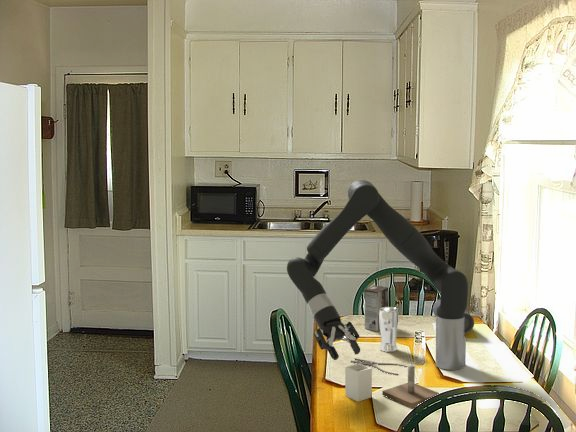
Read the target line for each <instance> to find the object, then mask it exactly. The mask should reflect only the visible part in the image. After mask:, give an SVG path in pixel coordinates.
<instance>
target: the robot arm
mask: <svg viewBox="0 0 576 432" xmlns="http://www.w3.org/2000/svg"><path fill="white" fill-rule="evenodd" d="M347 198H348V201H347V203H345V206H344V207H343V209H342V210H341V211H340V212H339V213H338V214H337V215H336V216H335V217H334V218H333V219H332V220H330V221H329V222H328V223H327V224H326V225H324V226H323V227H322V228H321V229H320V230H319V231H318V233H317V234H316V235H315V236H314V237H313V238H312V240H311V241H310V242H309V243H308V245H307V246H306V251H307V254H306V256H305V257H304V258H302V257H299V256H297V257H296V256H295V257H292V258H290V259H289V260H288V262H287V265H286V271H287V274H288V277H289V279H290V280H291V281H292V283H293V285H294V286H295V287H296V288H297V289H298V290H299V292H300V293H301V295H302V297H303V299H304V301H305V303H306V304H307V306H308V309H309V312H310V314H311V316H312V318H313V319H314V321H315V323H316V325H317V327H318V328H317V329H316V330H315V332H314V333H313V336H314V337H315V340H316V342H317V344H318V347H319V348H320V350H322V351H323V350H327V352H328V354H329V356H330V357H331V358H332V359H331V360H333V361H338V359H339V357H340V355H339V353H338V351H337V350H336V348H335V346H334V342H336V341H340V340H342V341H344V342H347V343H348V344H349V346H350V347H351V349H352V351H353V353H354V355H358V354H360V353H361V347H360V346H359V344H358V341H357V340H358V339H359V338H360V334H359V332H358V331H357V330H356V328H355V326H354V325H353V323H352V322H351V321H347V323H343V322H342V319H341V318H342V317H341V315H340V314H339V312H338V310H337V308H336V306H335V305H334V303H333V302H332V300H331V298H330V296H329V295H328V294H327V292H326V290H325V288H324V286H323V284H322V283H321V282H320V281H319V280H318V279H317V278H315V276H316V275H317V273H318V271H319V270H320V268H321V266H322V264H323V262H324V261H325V259H326V257H327V256H328V255H329V254H330V253H331V252H332V251H333V249H334V248H335V247H336V246H337V245H338V244H339V242H340V241H341V240H342V239H343V238H344V236H346V234H347V233H348V232H349V231H350V230H351V229H352V228H353V227H354V226H355V225H356V224H358V223H359V222H360V221H361V220H363V218H364V217H365V216H368V217H369V218H370V220H371V221H373V222H374V223H375V225H376V226H377V227H378V229H379V230H380V231H381V233H382V234H383V235H384V237H385V238H386V239H387V240H388V242H389V243H390V244H391V245H392V246H393V247H394V248H395V249H396V250H397V251H398V252H399V253H400V254H401V255H402V256H403V257H405V258H406V259H407V260H408V261H410V263H412V264H413V265H414V266H416V267H417V268H418V269H419V270H421V272H422V273H423V274H424V275H425V276H426V278H427V279H428V280H429V281H430V283H431V284H432V285H433V287H435V289H436V290H437V291H438V292H440V299H441V300H440V305H439V306H438V307H437V308H436V316H435V324H436V325H435V326H436V327H435V366H436V367H437V368H439V369H442V370H447V371H448V370H449V371H450V370H451V371H453V370H454V371H455V370H460V369H463V368H464V366H465V365H466V353H467V349H466V348H467V347H466V346H467V338H466V337H465V334H464V315H465V311H467V307H468V306H467V305H468V297H469V296H468V294H469V284H468V283H469V282H468V278H467V276H466V275H465V274H464V273H463V272H462V271H461V270H458V269H457V268H453V267H452V266H451V265H449V264H448V263H447V262H446V261H444V260H443V259H442V258H441V257H440V256H438V254H436V252H435V251H434V250H433V248H432V246H431V245H430V243H429V241H428V240H427V238H426V237H425V236H424V235H423V234H422V233H421V232H420V231H419V230H418V229H417V228H416V227H415V226H414V225H413V223H411V221H409V220H408V219H407V218H406V217H404V215H402V214H401V213H400V212H398V211H397V210H396V209H394V208H393V207H392V206H391V205H390V204H389V203H388V202H387V201H386V200H385V199H384V198H383V196H382V195H381V194H380V192H379V191H378V189H377V187H376V186H375V185H374V184H373V183H372V182H370V181H368V180H365V179H359V180H355V181H353V182H352V183H351V184H350V185H349V187H348V191H347Z"/></svg>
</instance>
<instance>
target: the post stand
mask: <svg viewBox="0 0 576 432" xmlns="http://www.w3.org/2000/svg"><path fill="white" fill-rule="evenodd" d="M407 366H408V368H407V382H406V383H403V384H399V385H397V386H394V387H391V388H390V387H389V388H387V389H385V390H382V394H381V395H385V396H387V397H388V398H387V399H389V398H391V399H393V400H395V401H394V402H396V401H397V402H396V403H398V402H399V403H398V404H400V403H401V404H400V405H403V406H405V405H406V406H405V407H407V406H408V408H410V407H411V408H410V409H414V408H416V407H415V406H417V405H418V404H420V403H422V402H424V401H425V400H427V399H429V398H431V397H433V396H435V395H437V394H439V393H440V392H438V391H435V390H432V389H430V388H427V387H424V386H422V385H419V384H417V383H415V376H416V375H415V368H416V367H415V365H412V364H411V365H407ZM391 399H390V400H391ZM393 400H392V401H393ZM413 407H414V408H413ZM417 407H418V406H417Z"/></svg>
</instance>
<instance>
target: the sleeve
mask: <svg viewBox="0 0 576 432" xmlns="http://www.w3.org/2000/svg"><path fill="white" fill-rule="evenodd" d="M344 369H345V370H344V371H345V372H344V374H345V375H344V376H345V377H344V384H345V386H344V387H345V388H344V389H345V391H344V392H345V395H344V396H345V397H347V398H349V399H351V400H353V401H356V402H361V401H364V400H367V399H370V398H372V397H373V390H372V389H373V367H370V366H366V365H362V364H360V363H358V364H355V363H354V364H352V365H349V366H345V367H344Z"/></svg>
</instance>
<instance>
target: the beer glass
mask: <svg viewBox="0 0 576 432" xmlns="http://www.w3.org/2000/svg"><path fill="white" fill-rule="evenodd" d="M379 328H380V330H379V332H380V346H379V350H380V351H381V350H382V351H381V352H384V351H385V353H394V352H396V351H397V350H398V347H397V346H398V345H397V335H398V328H399V309H398V308H396V307H393V306H389V307H382V308H380V311H379Z"/></svg>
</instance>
